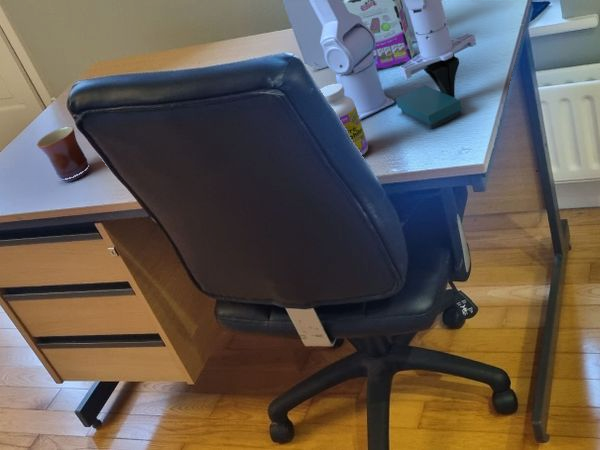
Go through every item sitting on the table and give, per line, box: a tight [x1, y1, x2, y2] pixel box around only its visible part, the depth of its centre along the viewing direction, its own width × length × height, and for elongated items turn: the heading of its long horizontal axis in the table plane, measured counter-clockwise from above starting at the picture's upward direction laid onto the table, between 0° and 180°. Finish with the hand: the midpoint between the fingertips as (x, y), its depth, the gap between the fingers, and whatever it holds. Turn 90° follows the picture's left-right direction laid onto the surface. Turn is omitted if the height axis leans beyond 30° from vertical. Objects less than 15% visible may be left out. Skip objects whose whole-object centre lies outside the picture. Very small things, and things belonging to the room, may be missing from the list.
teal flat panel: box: [395, 84, 463, 130], centre depth 141 cm, size 12×6×3 cm, turn 22°
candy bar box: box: [343, 0, 416, 71], centre depth 165 cm, size 11×5×16 cm, turn 76°
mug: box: [36, 126, 90, 183], centre depth 176 cm, size 12×9×10 cm
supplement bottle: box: [319, 83, 369, 156], centre depth 136 cm, size 7×7×13 cm
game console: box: [281, 0, 417, 71], centre depth 176 cm, size 6×27×20 cm, turn 83°
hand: (449, 97), depth 141 cm, fingers closed
